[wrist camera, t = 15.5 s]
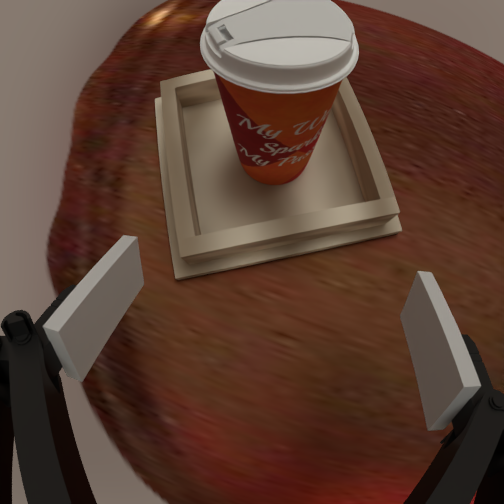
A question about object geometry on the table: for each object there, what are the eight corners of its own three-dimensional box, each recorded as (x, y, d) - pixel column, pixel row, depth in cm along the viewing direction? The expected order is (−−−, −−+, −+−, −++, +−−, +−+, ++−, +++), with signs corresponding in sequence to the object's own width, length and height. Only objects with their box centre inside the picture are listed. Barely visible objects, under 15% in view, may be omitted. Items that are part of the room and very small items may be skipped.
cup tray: (337, 74, 28) (344, 47, 24) (397, 233, 25) (418, 220, 21) (157, 104, 28) (145, 79, 24) (178, 280, 25) (163, 273, 21)
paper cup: (248, 213, 24) (231, 97, 11) (212, 134, 26) (177, 2, 12) (338, 177, 25) (399, 55, 11) (296, 105, 26) (313, -27, 13)
